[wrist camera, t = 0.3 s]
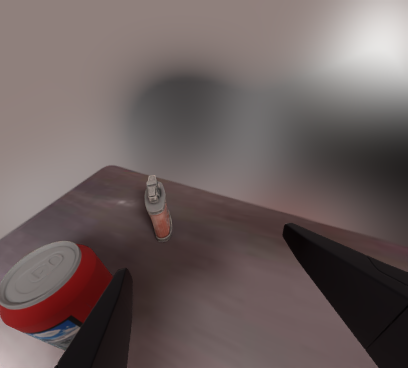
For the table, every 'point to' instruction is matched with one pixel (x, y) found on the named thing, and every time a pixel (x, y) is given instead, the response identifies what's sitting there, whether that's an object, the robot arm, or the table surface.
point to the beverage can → (53, 291)
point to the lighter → (158, 209)
